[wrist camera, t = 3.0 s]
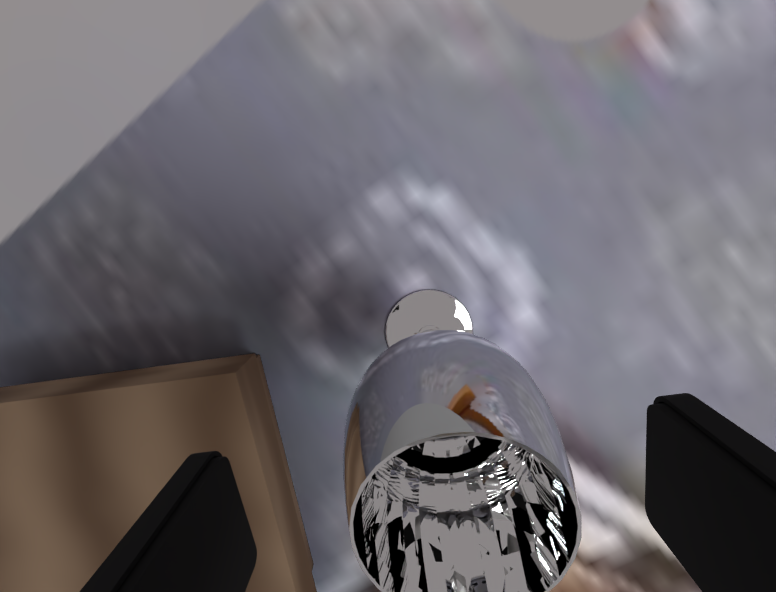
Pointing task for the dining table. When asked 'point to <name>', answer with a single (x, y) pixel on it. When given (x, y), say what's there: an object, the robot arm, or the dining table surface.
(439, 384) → the wineglass
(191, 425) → the stand
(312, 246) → the dining table surface
